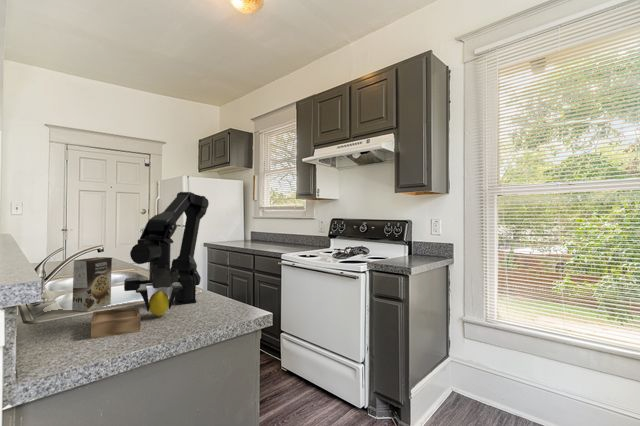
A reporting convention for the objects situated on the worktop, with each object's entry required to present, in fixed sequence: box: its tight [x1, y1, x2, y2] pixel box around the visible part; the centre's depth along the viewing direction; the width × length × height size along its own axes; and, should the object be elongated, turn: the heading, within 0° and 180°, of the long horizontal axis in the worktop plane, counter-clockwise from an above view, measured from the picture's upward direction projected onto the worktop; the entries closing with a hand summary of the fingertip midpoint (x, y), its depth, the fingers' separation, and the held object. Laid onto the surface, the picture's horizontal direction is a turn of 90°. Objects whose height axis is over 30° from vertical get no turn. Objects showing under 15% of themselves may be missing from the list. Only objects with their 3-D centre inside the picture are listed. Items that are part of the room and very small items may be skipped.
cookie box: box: [71, 256, 113, 313], centre depth 110 cm, size 9×6×16 cm
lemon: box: [148, 290, 169, 317], centre depth 102 cm, size 6×6×8 cm
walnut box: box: [90, 306, 142, 340], centre depth 91 cm, size 11×11×4 cm
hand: (158, 309), depth 102 cm, fingers closed on lemon, 5 cm apart
